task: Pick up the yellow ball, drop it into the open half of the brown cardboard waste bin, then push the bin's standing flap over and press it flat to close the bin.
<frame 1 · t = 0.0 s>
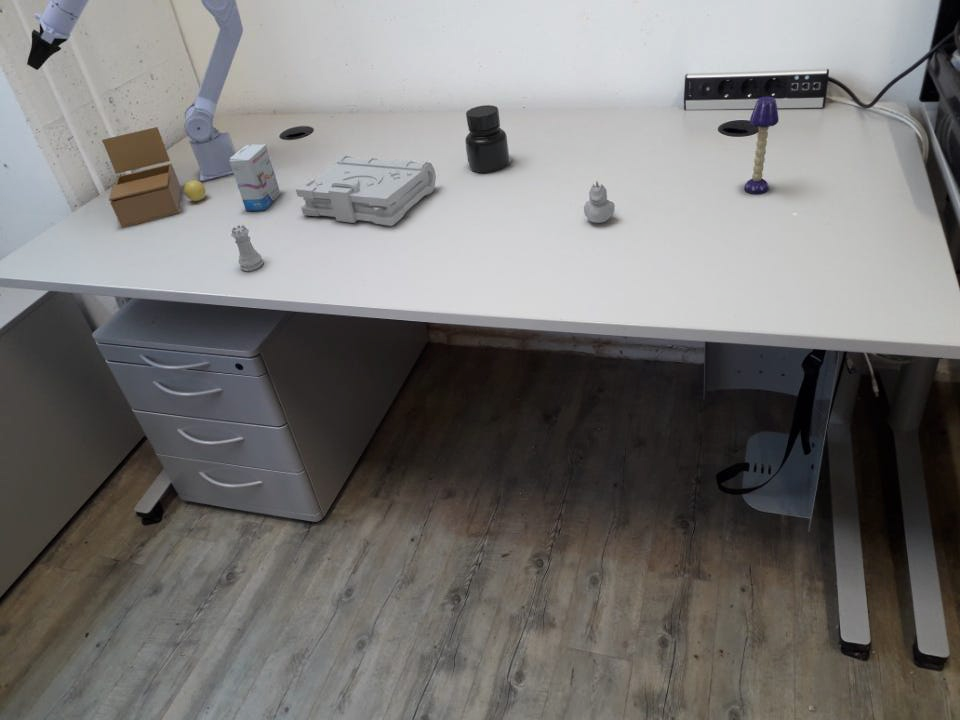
hand: (35, 62, 161), 32 cm above the table, tool tilted 50°, fingers open, 7 cm apart
yellow ball: (194, 190, 171), point 2 cm above the table
toy lamp: (757, 190, 138), on the table
ink box: (264, 203, 166), on the table
bin: (152, 206, 173), on the table
rook chess piece: (252, 266, 142), on the table
rubber duck: (599, 220, 137), on the table
flap: (136, 150, 174), point 11 cm above the table, hinge at 100.0°
ink bottle: (489, 166, 164), on the table
book: (362, 202, 158), on the table
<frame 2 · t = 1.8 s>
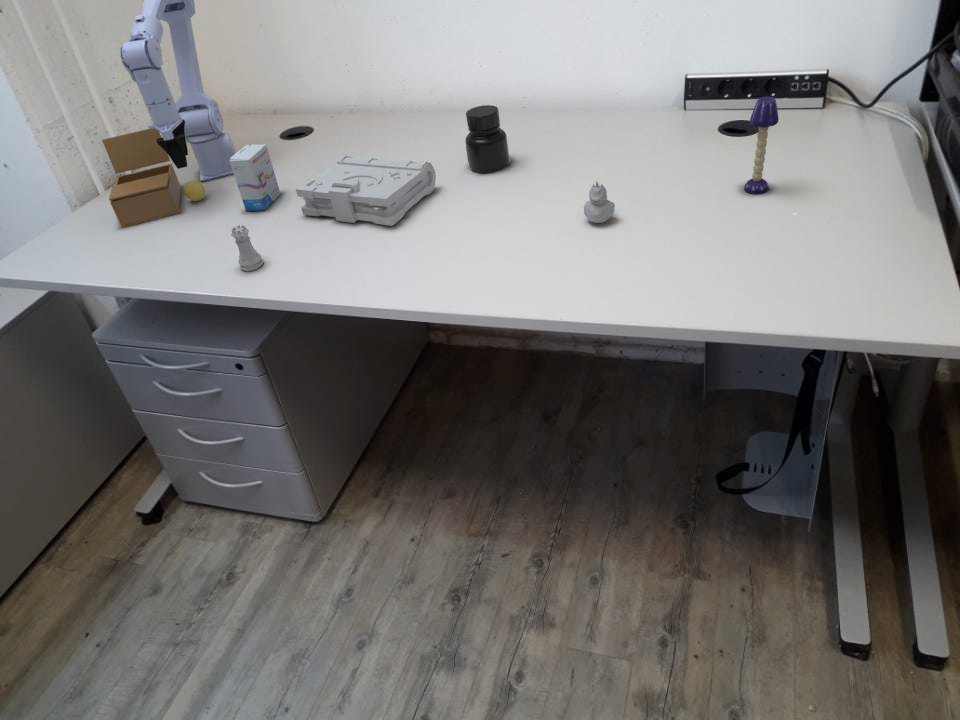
hand: (183, 161, 167), 9 cm above the table, tool pointing down, fingers open, 7 cm apart
nothing on the table moved.
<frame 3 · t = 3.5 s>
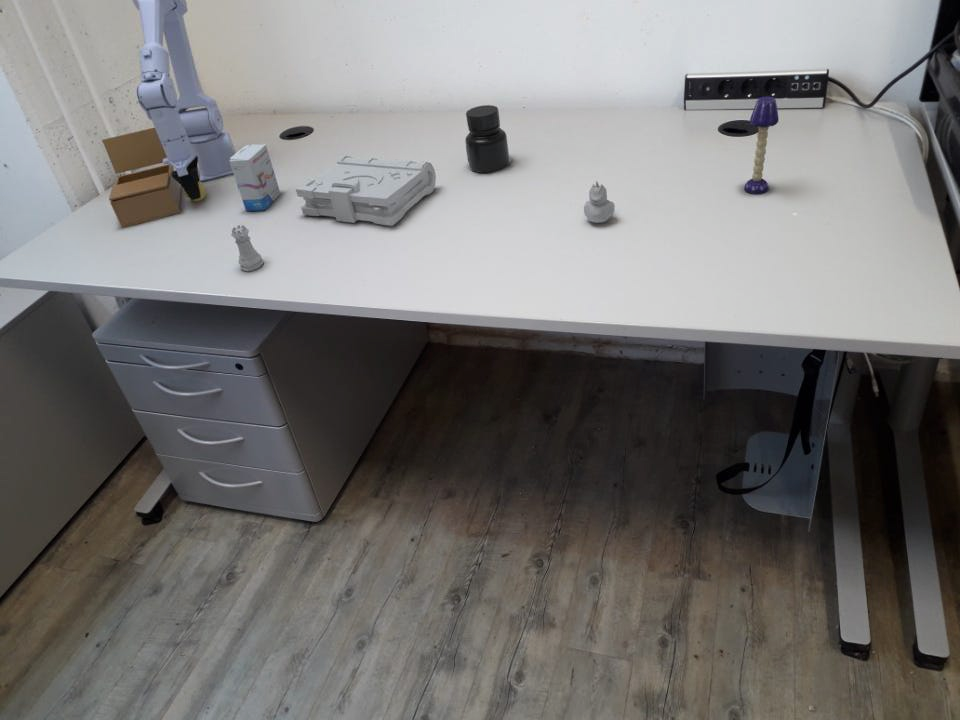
hand: (196, 194, 171), 1 cm above the table, tool pointing down, fingers closed on yellow ball, 4 cm apart
yellow ball: (194, 190, 171), point 2 cm above the table, touching gripper
everything else where it was.
when the fingers open (2 cm above the table, at t = 8.6 s): yellow ball moves 3 cm and tips over, resting on bin.
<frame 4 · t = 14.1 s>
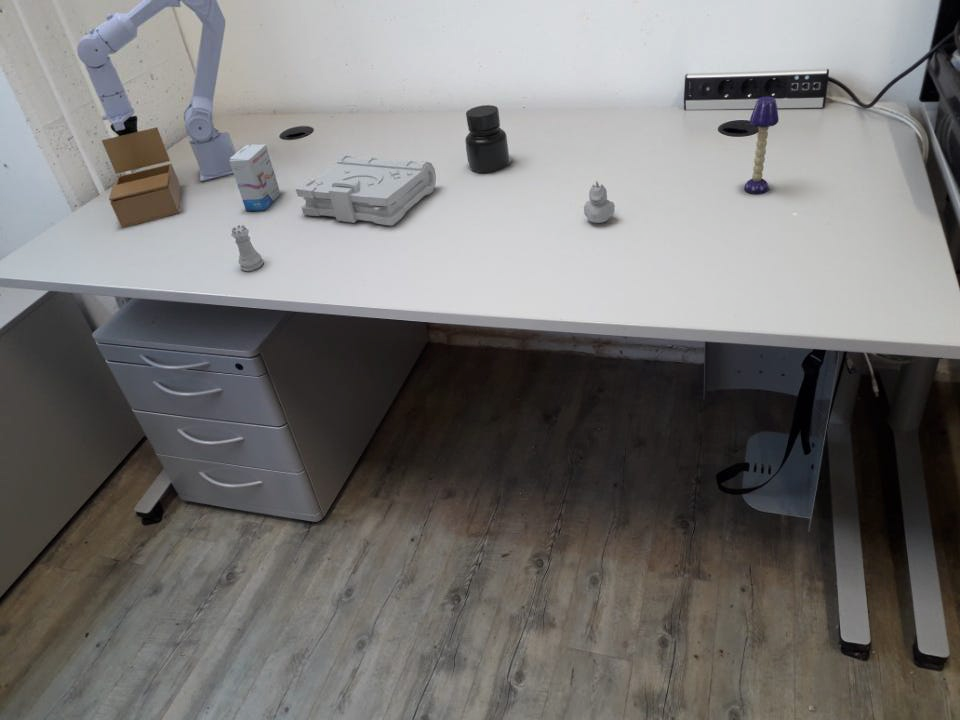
hand: (136, 151, 176), 10 cm above the table, tool pointing down, fingers closed
yellow ball: (163, 185, 175), point 3 cm above the table, tilted 86°, touching bin
flap: (136, 150, 173), point 11 cm above the table, hinge at 95.8°, touching gripper
everything else where it was.
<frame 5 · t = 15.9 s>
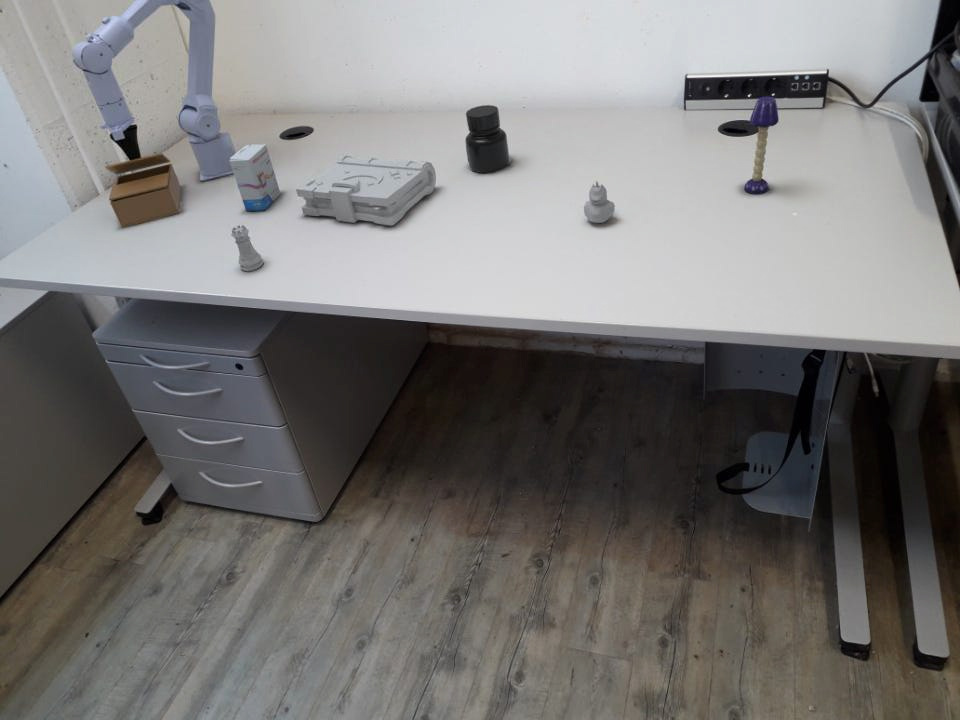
hand: (136, 160, 170), 10 cm above the table, tool pointing down, fingers closed
flap: (138, 164, 171), point 9 cm above the table, hinge at 31.5°
everything else where it was.
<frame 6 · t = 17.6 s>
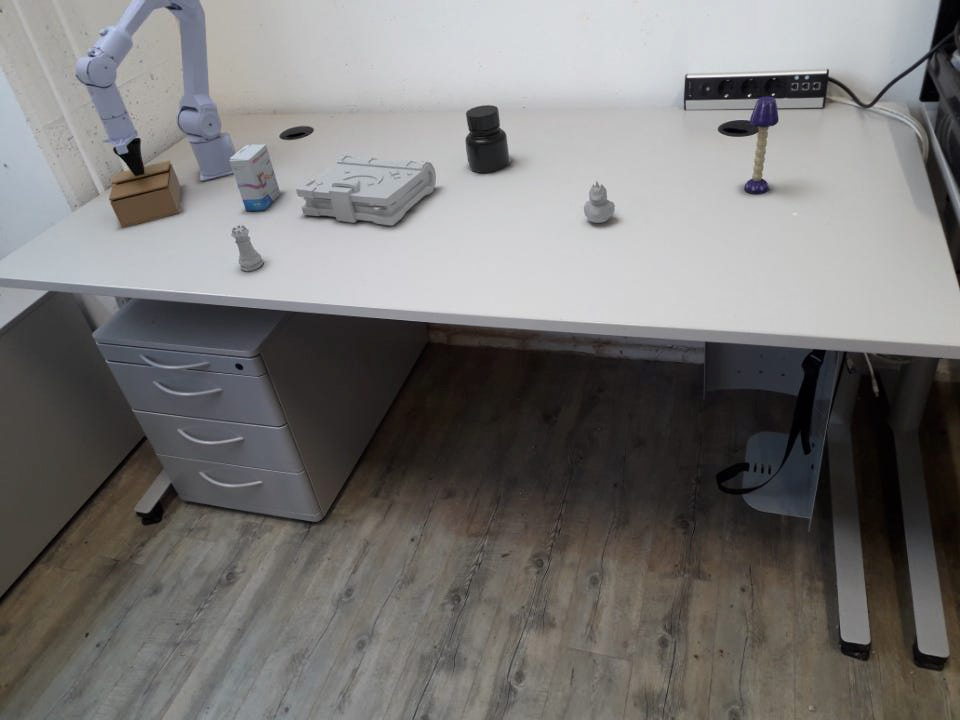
hand: (139, 174, 170), 7 cm above the table, tool pointing down, fingers closed, pressing on flap
flap: (141, 172, 172), point 7 cm above the table, hinge at 5.1°, touching gripper
everything else where it was.
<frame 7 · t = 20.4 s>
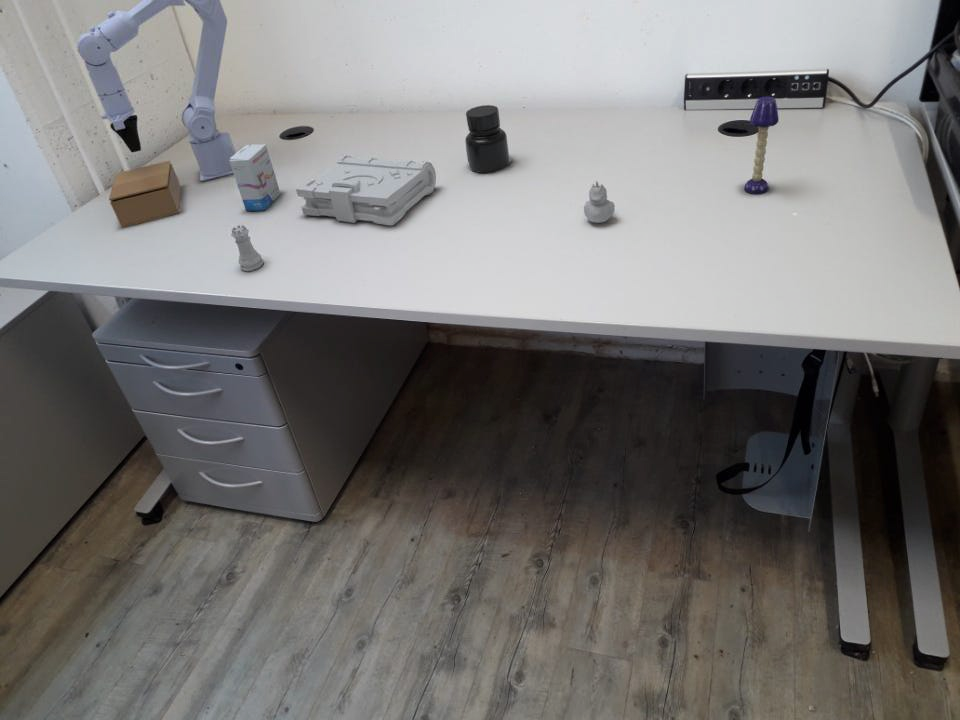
hand: (136, 150, 174), 10 cm above the table, tool pointing down, fingers closed
flap: (142, 173, 172), point 7 cm above the table, hinge at -0.4°
everything else where it was.
at the end: yellow ball inside the target area in the bin (5.2 cm from its centre), point 2.8 cm above the bin's base; flap at +0° (first picture: +100°) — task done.
